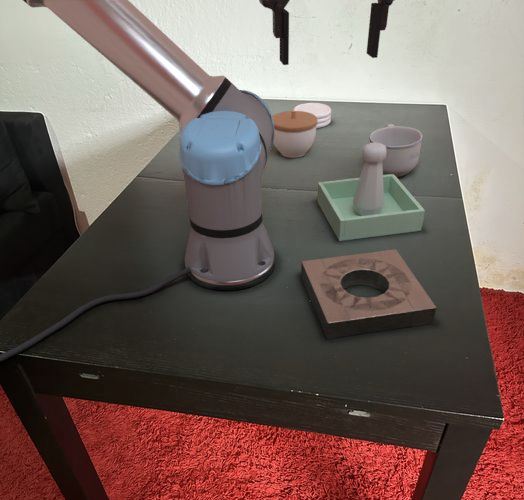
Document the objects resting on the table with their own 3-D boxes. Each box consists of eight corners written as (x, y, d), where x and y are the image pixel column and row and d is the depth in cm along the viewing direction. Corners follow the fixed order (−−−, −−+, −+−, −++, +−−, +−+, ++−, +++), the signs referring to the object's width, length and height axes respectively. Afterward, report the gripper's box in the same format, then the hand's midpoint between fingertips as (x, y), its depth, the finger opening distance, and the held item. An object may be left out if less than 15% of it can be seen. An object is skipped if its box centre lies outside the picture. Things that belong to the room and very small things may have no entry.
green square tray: (339, 241, 94) (340, 220, 92) (317, 201, 106) (317, 182, 103) (421, 230, 96) (425, 210, 93) (391, 193, 107) (393, 173, 105)
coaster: (290, 117, 142) (290, 103, 139) (326, 114, 142) (327, 100, 140) (295, 130, 134) (296, 116, 132) (334, 127, 135) (335, 113, 132)
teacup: (416, 183, 110) (423, 145, 105) (364, 180, 112) (368, 143, 107) (416, 156, 120) (422, 120, 115) (368, 154, 122) (371, 118, 117)
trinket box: (325, 153, 123) (327, 112, 117) (288, 165, 119) (288, 123, 112) (297, 140, 130) (298, 100, 123) (262, 151, 125) (260, 110, 119)
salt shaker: (348, 217, 99) (354, 149, 91) (355, 203, 103) (362, 137, 94) (379, 222, 98) (388, 153, 89) (385, 208, 102) (394, 140, 93)
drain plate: (326, 339, 75) (328, 323, 73) (301, 276, 87) (301, 261, 85) (432, 323, 77) (436, 307, 75) (393, 264, 89) (395, 248, 86)
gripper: (243, -131, 60) (250, 72, 74) (448, -138, 63) (417, 59, 77) (233, -131, 65) (242, 58, 80) (422, -137, 68) (398, 46, 83)
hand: (328, 59), depth 78 cm, fingers open, 13 cm apart
